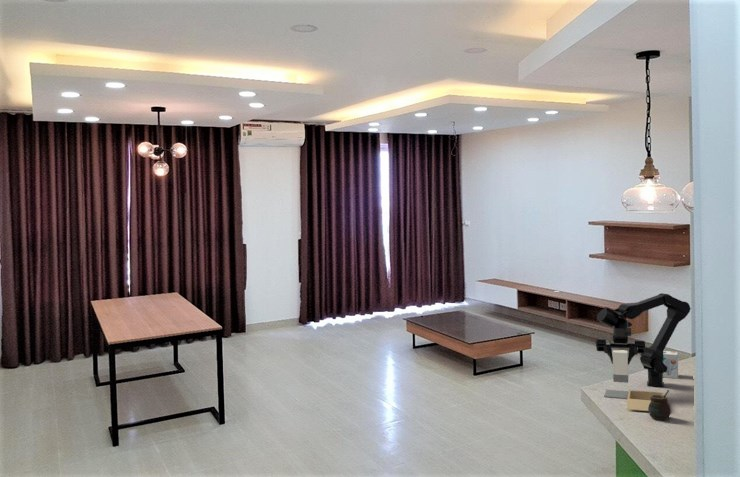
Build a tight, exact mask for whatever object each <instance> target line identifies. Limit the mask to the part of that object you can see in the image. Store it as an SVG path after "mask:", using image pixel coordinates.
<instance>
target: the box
mask: <svg viewBox="0 0 740 477" xmlns="http://www.w3.org/2000/svg"><path fill="white" fill-rule="evenodd" d="M628 354H629V350H621V349H613V350H612V356H613V364H612V378H613V379H612V380H613V383H626V384H628V383H629V365H628Z"/></svg>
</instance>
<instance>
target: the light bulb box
mask: <svg viewBox="0 0 740 477" xmlns="http://www.w3.org/2000/svg"><path fill="white" fill-rule="evenodd" d="M678 353H679V352H678V351H672V350H671V351H670V350H664V351H663V361H662V362H663V363H664V364H665V365H666V366H667V372H664V373H663V378H666V379H667V378H668V379H678V378H679V354H678Z"/></svg>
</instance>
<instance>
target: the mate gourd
mask: <svg viewBox="0 0 740 477" xmlns="http://www.w3.org/2000/svg"><path fill="white" fill-rule="evenodd" d="M669 392H670V390H669V389H667V391H666V392H665V393H664V394H663V395H651V402H650V404H649V407H648V411H647V412H648V414H649V417H651V418H652V419H653V420H656V421H666V420H667V419H670V416H671V412H672V410H671V408H670V404H669V402H668V396H667V395H668V394H669Z"/></svg>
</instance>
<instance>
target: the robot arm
mask: <svg viewBox="0 0 740 477" xmlns="http://www.w3.org/2000/svg"><path fill="white" fill-rule="evenodd" d="M660 306H664V307H665V308H666V318H665V320H664V322H663V323H662V326H661V327H660V330H659V331H658V333H657V335H656V337H655V339H654V340H653V343H652V344H651V346H649V347H646V341H645V340H634V343H629V337H632V328H631V327H632V326H633V324H632V323H631V322H630V320H635V319H636V318H638V317H639V316H641V315H642V314H643V313H644V312H646V311H649V310H652V309H654V308H657V307H660ZM691 309H692V308H691V306H690V303H688V302H686V301H683V300H680V299H678V298H676V297H673V296H672V295H671V294H668V293H663V292H661V293H659V294H657V295H654V296H652V297H649V298H645V299H642V300H640V301H638V302H627V303H622V304H620V305H619V306H618V308H616V309H614V310H612V309H611V308H610V307H607V306H604V308H602V309H601V310H600V311H599V312H598V313H597V316H596V319H597V322H599V323H601V324H603V325H605V326H607V327H609V328H611V327H612V328H613V330H612V342H611V341H608V340H607V339H606V338H597V339H596V340H595V346H596V347H595V348H596V351H597V352H604V353H605V354H607V356H608V357H609V360H610V362H611V364H612V365H613V350H612V348H613V349H627V350H628V366H629V365H630V363H631V361H632V359H634V356H637V355H638V354H640V357H639V361H640V363H641V364H642V367H643V369H644V370H647V381H646V386H647V387H656V388H657V387H661V388H663V387H664V386H665V382H664V380H663V378H664V377H663V373H664V372H667V366H666V365H665V364H664V363H663V362H662V361H663V351H665V348H666V347H667V345H668V343H669V341H670V339H671V337H672V336H673V333H674V332H675V330H676V328H677V326H678V325H679V323H680V322H682V320H684V319H686V317H687V316H688V315H689V313H690V312H691ZM627 319H629V320H627Z"/></svg>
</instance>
